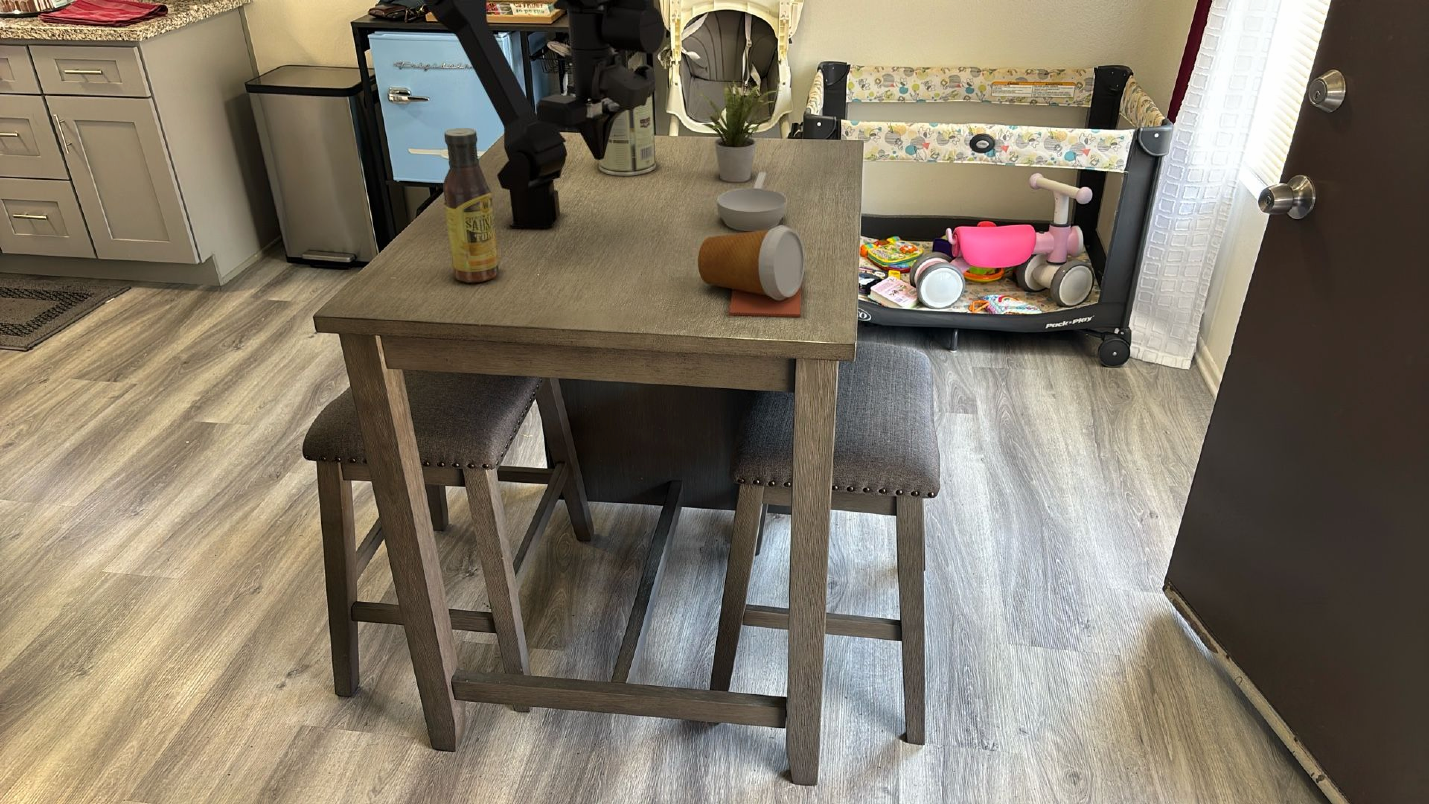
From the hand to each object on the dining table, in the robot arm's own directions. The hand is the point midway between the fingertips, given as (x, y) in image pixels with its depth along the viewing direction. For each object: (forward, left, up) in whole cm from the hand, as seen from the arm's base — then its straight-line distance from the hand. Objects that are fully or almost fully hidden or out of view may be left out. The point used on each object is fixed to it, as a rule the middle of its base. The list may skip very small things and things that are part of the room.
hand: (599, 159), depth 142 cm
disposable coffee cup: (+17, -15, -9) cm, 25 cm away
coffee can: (-2, +34, -12) cm, 36 cm away
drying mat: (+25, -18, -12) cm, 33 cm away
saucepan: (+22, +12, -12) cm, 28 cm away
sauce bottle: (-15, -15, -12) cm, 24 cm away
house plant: (+19, +29, -12) cm, 37 cm away
